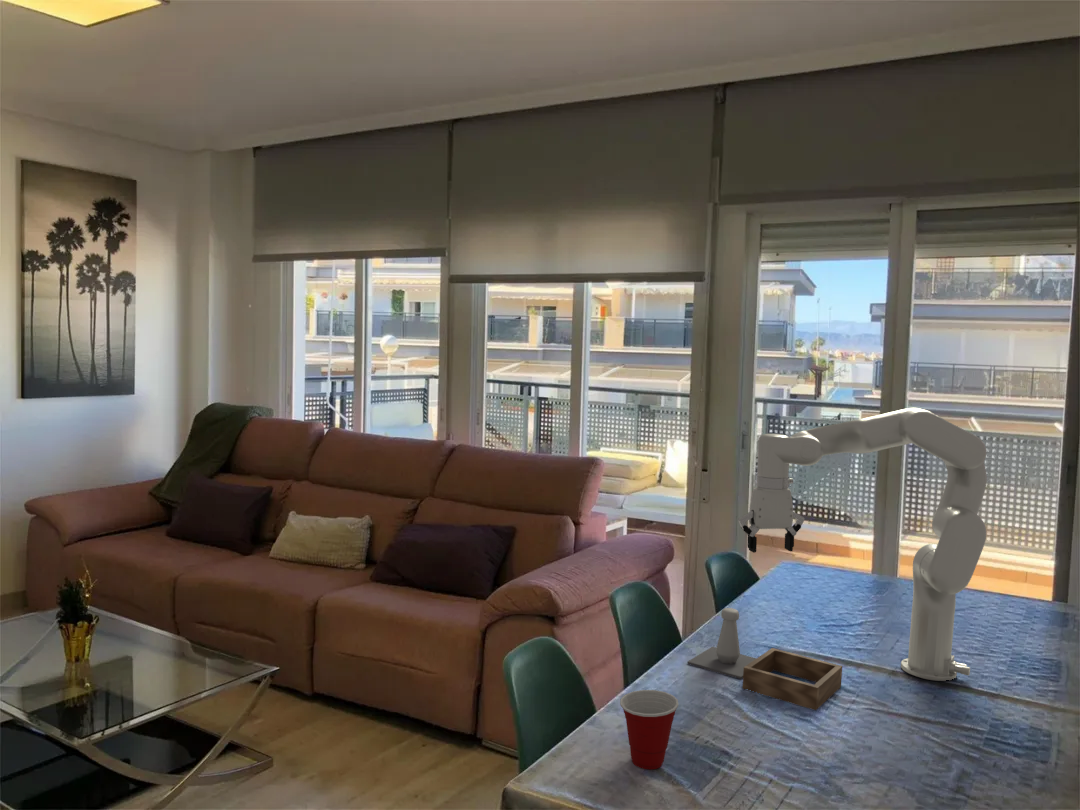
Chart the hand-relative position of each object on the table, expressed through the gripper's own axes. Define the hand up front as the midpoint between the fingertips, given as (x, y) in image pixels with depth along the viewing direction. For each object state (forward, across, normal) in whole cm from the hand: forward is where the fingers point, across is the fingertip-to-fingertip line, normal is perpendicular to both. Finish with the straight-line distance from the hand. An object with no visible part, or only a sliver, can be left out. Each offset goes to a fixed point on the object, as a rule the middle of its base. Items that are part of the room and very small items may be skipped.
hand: (770, 550), depth 215 cm
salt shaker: (+26, +12, +4) cm, 29 cm away
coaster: (+27, +13, +4) cm, 30 cm away
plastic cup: (+26, +47, +51) cm, 74 cm away
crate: (+27, +3, +20) cm, 34 cm away
